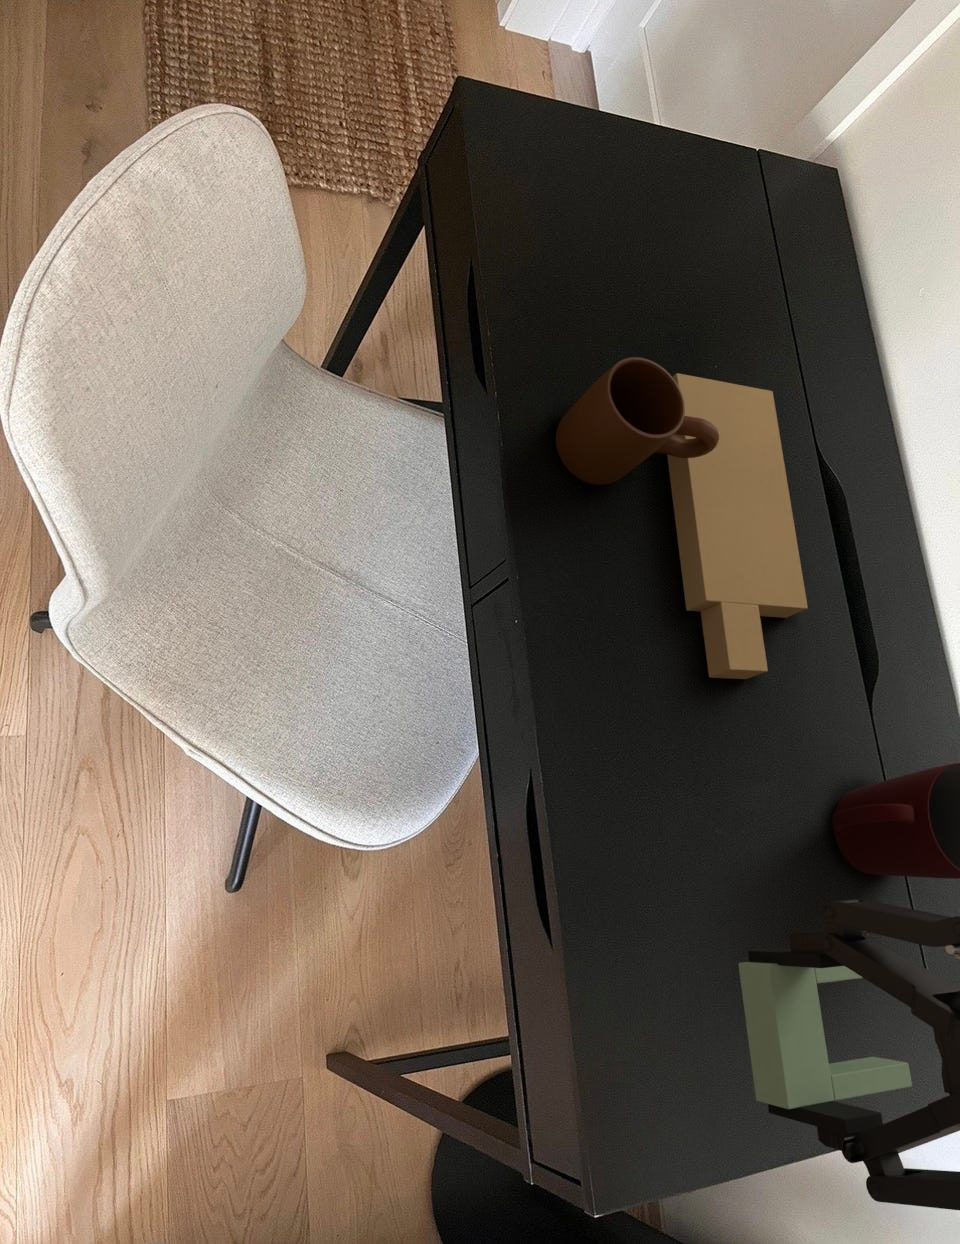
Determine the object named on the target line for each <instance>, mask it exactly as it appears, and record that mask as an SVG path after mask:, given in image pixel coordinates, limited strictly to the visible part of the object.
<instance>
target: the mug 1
mask: <svg viewBox="0 0 960 1244" xmlns="http://www.w3.org/2000/svg"><path fill="white" fill-rule="evenodd" d="M684 414H685V404H684V399H683V395H682V392H681V390H680V388H679V386H678V384H677V383H676V381H675V380H674V378H673V376H672V375H671V374H670V372H668V370H666V368H664V367H663V366H661V365H660V364H659V363H657V362H655V361H653V360H650V359H648V358H644V357H638V356H635V357H634V356H632V357H626V358H623V359H621V360H619V361H618V362H616V363H615V364H614V365H612V366H611V367H610V368H609V369H607V370H606V371H605V372H604V373H602V375H601V376H600V377H599V378H597V380H596V381H595V382H594V383H593V384H592V385H591V386H590V387H589V388H588V389H587V390H586V391H585V393H584V394H583V395H581V396H580V398H579V399H578V400H577V401H576V402H575V403H574V404H573V405H572V406H571V407H570V408H569V409H568V411H567V412H566V413H565V414H564V415H563V416H562V418H561V419H560V421H559V423H558V425H557V428H556V432H555V446H556V450H557V453H558V456H559V459H560V461H561V462H562V464H563V466H565V468H566V469H567V470H568V471H569V472H570V473H571V475H573V476H574V477H576V478H577V479H579V480H580V481H582V482H584V483H587V484H590V485H594V486H595V485H596V486H607V485H611V484H613V483H616V482H617V481H619V480H621V479H623V478H624V477H625V476H626V475H628V474H629V473H630V472H632V471H633V470H634V469H635V468H636V467H638V466H639V465H641V464H642V463H643V462H644V461H645V460H647V459H649V457H650V456H652V455H653V454H665V455H667V454H668V455H671V456H674V457H679V458H695V457H700V456H703V455H706V454H708V453H709V452H711V451H712V450H713V449H714V448H715V447H716V446H717V443H718V441H719V433H718V430H717V428H716V427H715V426H714V425H713V424H712V423H710V422H708V421H707V420H705V419H702V418H696V417H690V416H684ZM674 434H678V435H684V436H690V437H696V438H693V439H683V438H679V437H677V436H674Z"/></svg>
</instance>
